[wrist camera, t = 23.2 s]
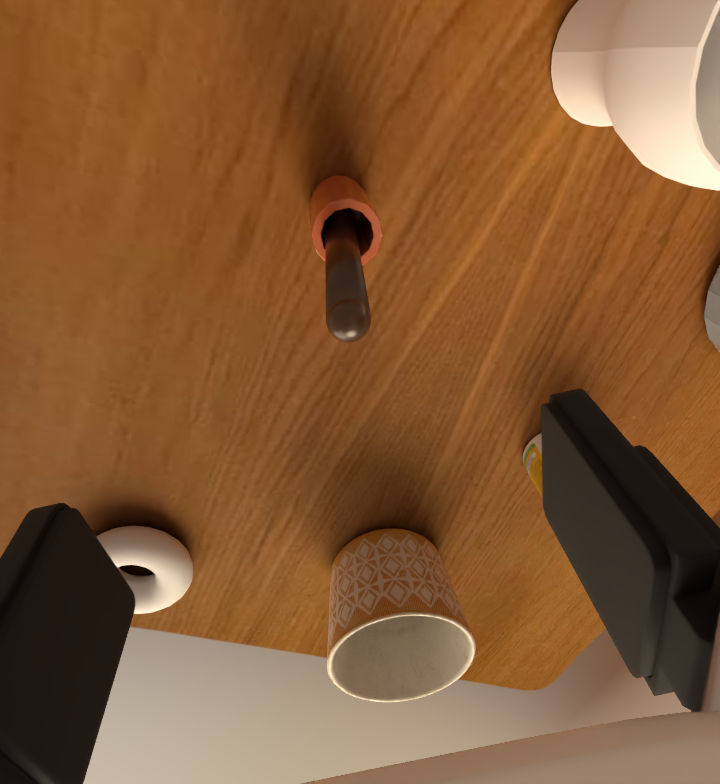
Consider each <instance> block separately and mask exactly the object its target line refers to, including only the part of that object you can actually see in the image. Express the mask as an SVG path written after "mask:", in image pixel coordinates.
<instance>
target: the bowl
mask: <svg viewBox="0 0 720 784" xmlns="http://www.w3.org/2000/svg"><path fill="white" fill-rule="evenodd" d="M704 319H705V324H706V329H707V334H708V338H709V339H710V341H711V342H712V343H713V344H714V346H715V347H716V348H717V350H718V351H719V352H720V266H719V268H718V270H717V272H716V274H715V276H714V278H713V280H712V282H711V285H710V287H709V290H708V294H707V300H706V306H705V312H704Z"/></svg>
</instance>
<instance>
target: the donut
mask: <svg viewBox="0 0 720 784" xmlns="http://www.w3.org/2000/svg"><path fill="white" fill-rule="evenodd" d="M97 539H98V540H99V542H100V543H101V545H102V546H103V548H104V549H105V551H106V552H107V553H108V555H109V556H110V558H111V559H112V561H113V562H114V564H115V565H116V567H117V568H118V570H119V571H120V573H121V574H122V576H123V577H124V579H125V580H126V582H127V583H128V585H129V586H130V588H131V589H132V591H133V593H134V596H135V611H134V614H143V613H150V612H155V611H158V610H161V609H163V608H166V607H168V606H171V605H172V604H173V603H175V602H176V601H177V600H179V599H180V598H181V597H182V596H183V595H184V594H185V592H186V591H187V589H188V588H189V586H190V584H191V582H192V576H193V563H192V560H191V557H190V555H189V552H188V550H187V549H186V548H185V547H184V546H183V545H182V543H181V542H180V541H179V540H177V539H176V538H174V537H172V536H171V535H169V534H167V533H166V532H164V531H160V530H157V529H154V528H151V527H143V526H126V527H119V528H114V529H111V530H109V531H106V532H104V533H101V534H100V535H98V536H97ZM124 565H138V566H141V567H145V568H147V569H149V570H151V571H152V572H153V573H154V574H152V575H149V576H135V575H132V574H128V573H126V572H124V571H123V570H121V569H120V568H119V567H121V566H124Z"/></svg>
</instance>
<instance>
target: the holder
mask: <svg viewBox="0 0 720 784" xmlns="http://www.w3.org/2000/svg"><path fill="white" fill-rule="evenodd" d="M346 208H351V209H352V211H353V215H354V221H355V226H356V232H357V238H358V244H359V250H360V256H361V261H362V266H363V265H365V264H366V263H367V262H368V261H369V260H370V259H371V258H372V257H374V256H375V255H376V253H377V251H378V248H379V245H380V243H381V240H382V236H383V235H382V230H381V224H380V219H379V217H378V215H377V213H376V211H375V209H374V207H373V205H372V203H371V201H370V199H369V197H368V195H367V193H366V192H365V191H364V189H363V188H362V186H361V185H360V184H359V183H358V182H357V181H355V180H354V179H352V178H350V177H347V176H341V175H336V176H331V177H328V178H326V179H324V180H323V181H322V182H320V183H319V184H318V185H317V187H316V188H315V189H314V191H313V193H312V196H311V201H310V208H309V209H310V222H311V235H312V239H313V243H314V247H315V251H316V253H317V254H318V255H319V256H320V257H321V258H322V259H323V260H324V261H325V262H326V259H325V220H326V219H327V218H328V217H329V216H330V215H331V214H332V213H333V212H334V211H337V210H342V209H346Z"/></svg>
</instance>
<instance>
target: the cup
mask: <svg viewBox="0 0 720 784" xmlns="http://www.w3.org/2000/svg"><path fill="white" fill-rule="evenodd" d="M551 76H552V83H553V89H554V92H555V94H556V97H557V99H558V101H559V103H560V105H561V107H562V108H563V109H564V110H565V111H566V112H567V113H568V114H569V116H570V117H572V118H574V119H575V120H577V121H579V122H581V123H582V124H587V125H592V126H613V127H614V129H615V131H616V132H617V134H618V135H619V136H620V138H621V139H622V140H623V141H624V143H625V144H626V145H627V146H628V148H629V149H630V150H631V151H632V152H633V153H634V155H635V156H636V157H637V158H638V159H639V161H640V162H641V163H642V164H643V165H644V166H646V167H647V168H649V169H651V170H653V171H655V172H656V173H658V174H660V175H662V176H664V177H665V178H668V179H671V180H674V181H677V182H680V183H683V184H686V185H689V186H694V187H700V188H706V189H712V190H720V0H578V1H577V2H576V4H575V5H574V6H573V7H572V9H571V10H570V11H569V12H568V14H567V16H566V18H565V20H564V22H563V24H562V26H561V28H560V30H559V31H558V35H557V38H556V41H555V45H554V48H553V52H552V64H551Z"/></svg>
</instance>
